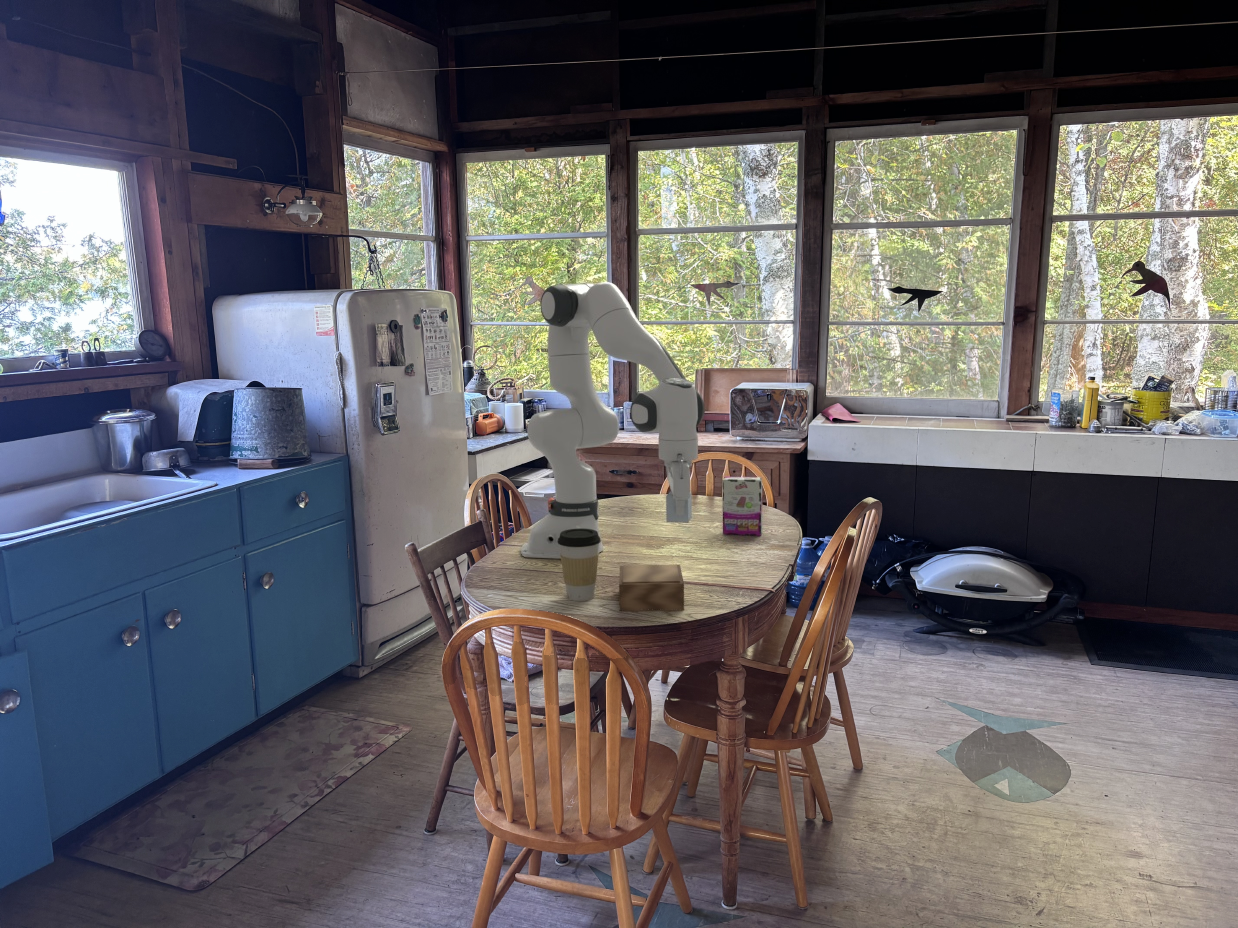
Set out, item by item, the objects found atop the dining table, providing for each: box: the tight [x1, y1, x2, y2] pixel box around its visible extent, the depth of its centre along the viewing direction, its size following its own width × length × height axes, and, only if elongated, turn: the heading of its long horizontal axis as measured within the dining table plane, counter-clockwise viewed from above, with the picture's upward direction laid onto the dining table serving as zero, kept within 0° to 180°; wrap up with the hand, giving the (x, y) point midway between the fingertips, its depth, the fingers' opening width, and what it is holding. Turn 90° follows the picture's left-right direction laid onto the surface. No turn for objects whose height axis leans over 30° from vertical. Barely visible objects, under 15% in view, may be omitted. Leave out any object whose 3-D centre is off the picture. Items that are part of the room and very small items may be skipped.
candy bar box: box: [721, 476, 763, 537], centre depth 248 cm, size 11×5×16 cm, turn 76°
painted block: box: [665, 491, 693, 524], centre depth 195 cm, size 5×5×6 cm
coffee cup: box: [557, 528, 602, 602], centre depth 195 cm, size 10×10×15 cm
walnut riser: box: [618, 563, 685, 612], centre depth 193 cm, size 14×14×6 cm
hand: (678, 510), depth 196 cm, fingers closed on painted block, 6 cm apart
